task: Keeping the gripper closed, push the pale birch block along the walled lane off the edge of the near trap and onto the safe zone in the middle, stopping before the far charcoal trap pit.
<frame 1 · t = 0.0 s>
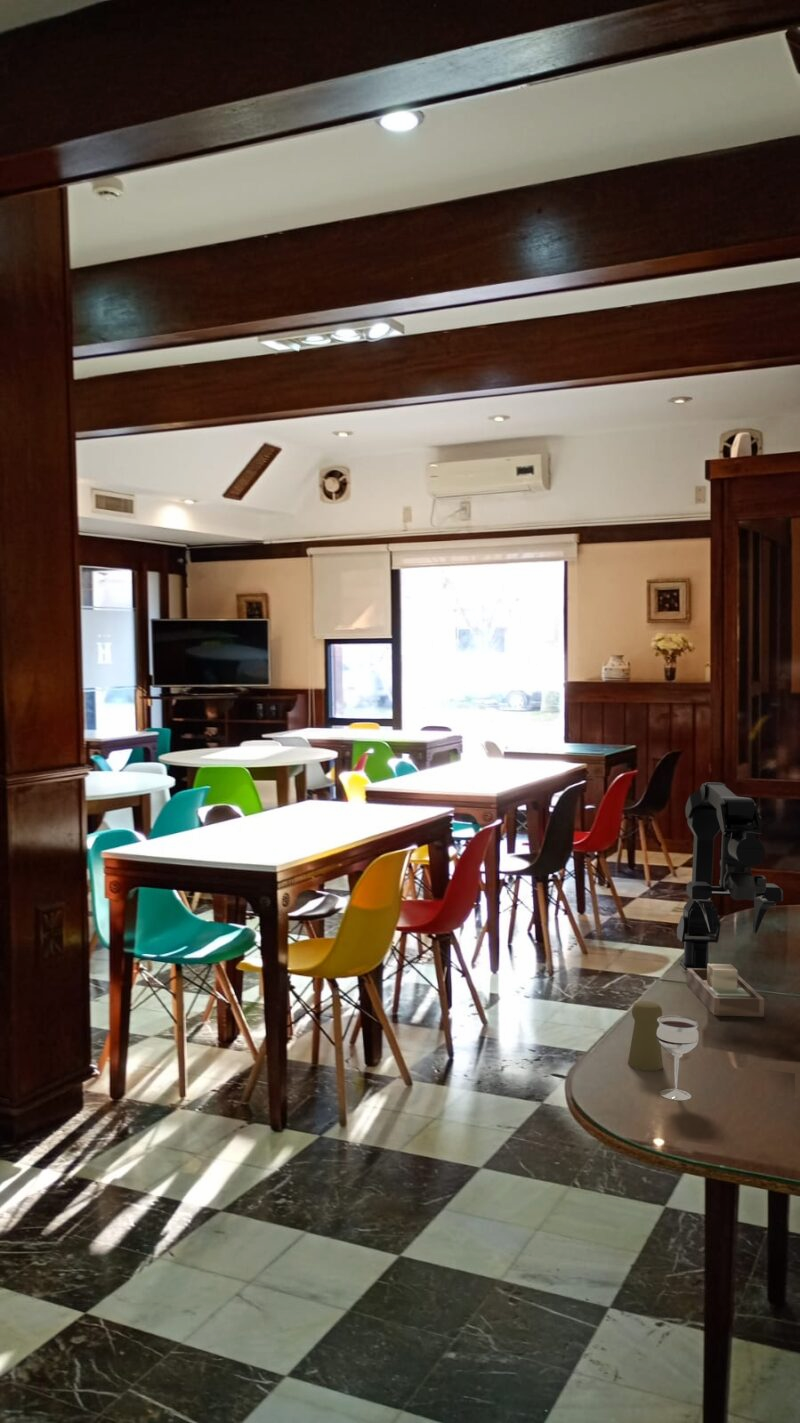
hand: (732, 932, 241), 15 cm above the table, fingers open, 9 cm apart
wineglass: (675, 1095, 188), on the table
block: (721, 985, 245), point 2 cm above the table, touching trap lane
cork: (645, 1065, 202), on the table
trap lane: (723, 999, 244), on the table
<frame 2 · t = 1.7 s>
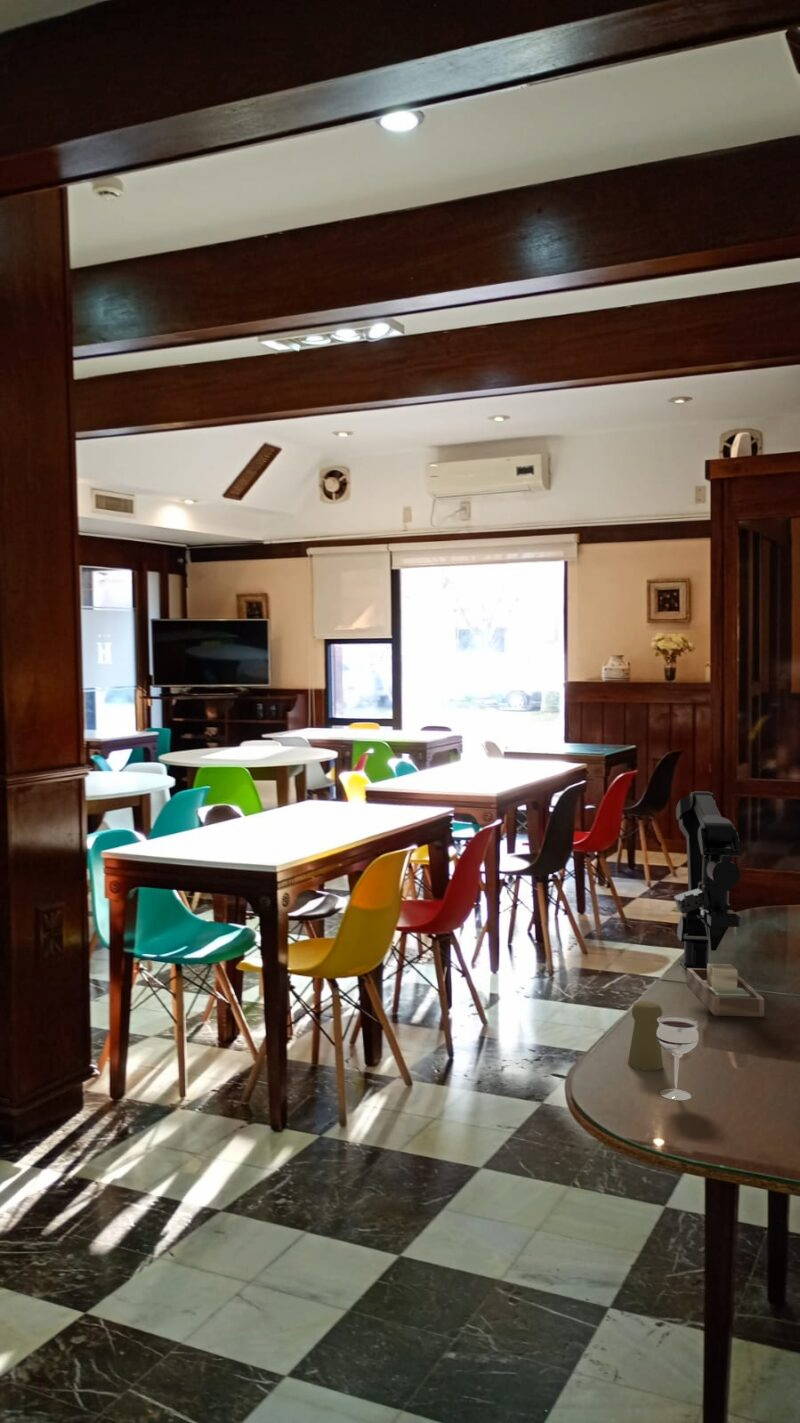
hand: (713, 950, 252), 8 cm above the table, fingers closed
nothing on the table moved.
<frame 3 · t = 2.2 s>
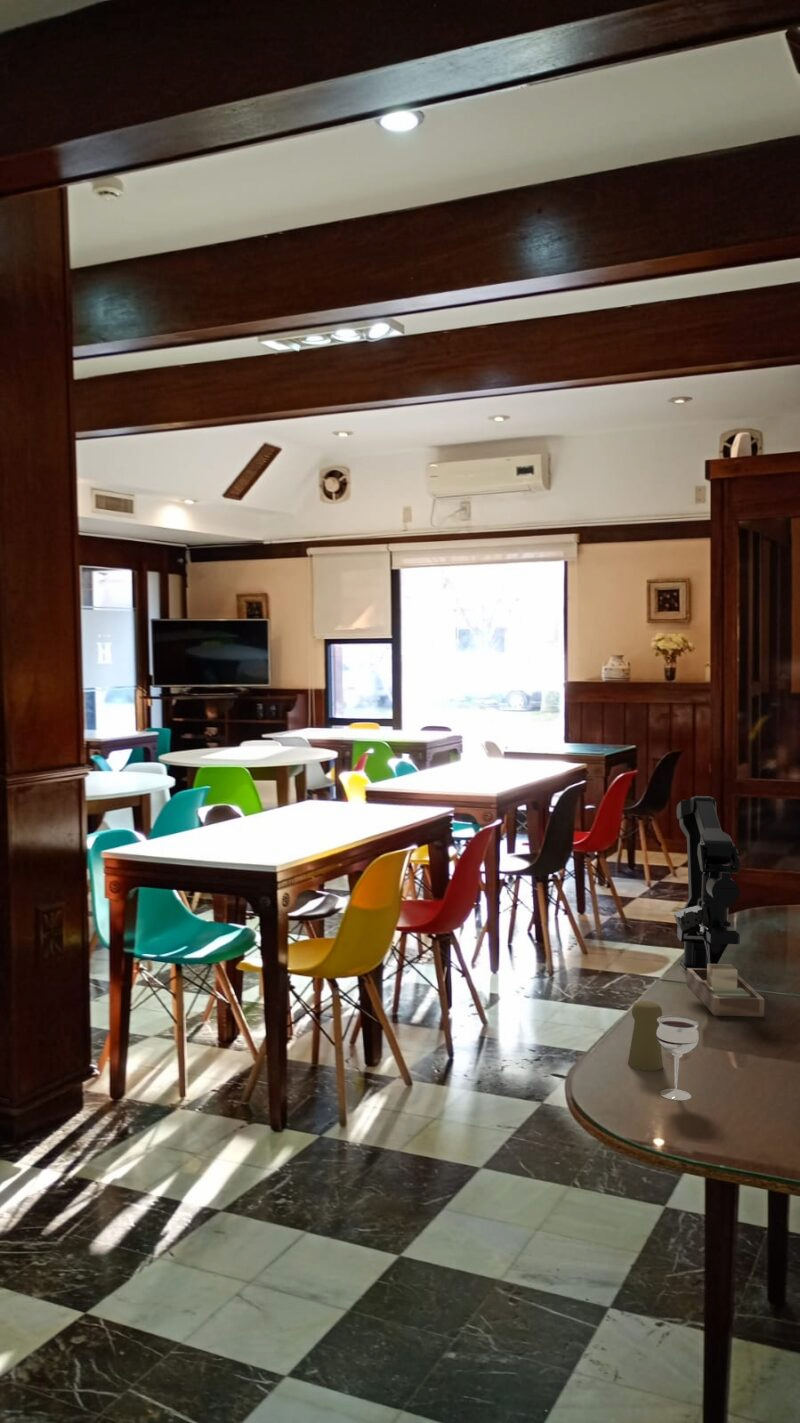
hand: (712, 967, 252), 5 cm above the table, fingers closed
nothing on the table moved.
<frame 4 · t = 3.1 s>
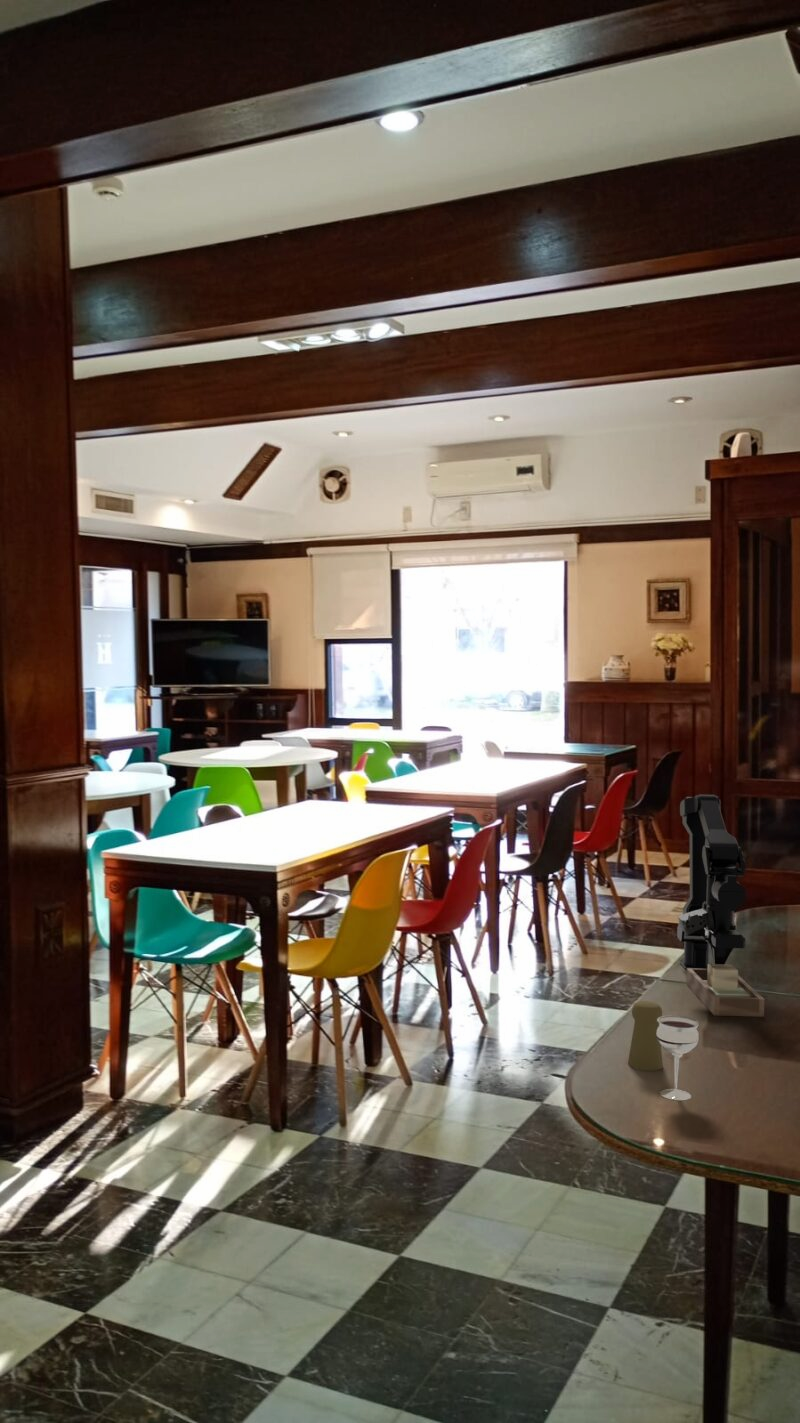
hand: (717, 971, 248), 5 cm above the table, fingers closed
block: (722, 986, 245), point 3 cm above the table, touching gripper
everything else where it was.
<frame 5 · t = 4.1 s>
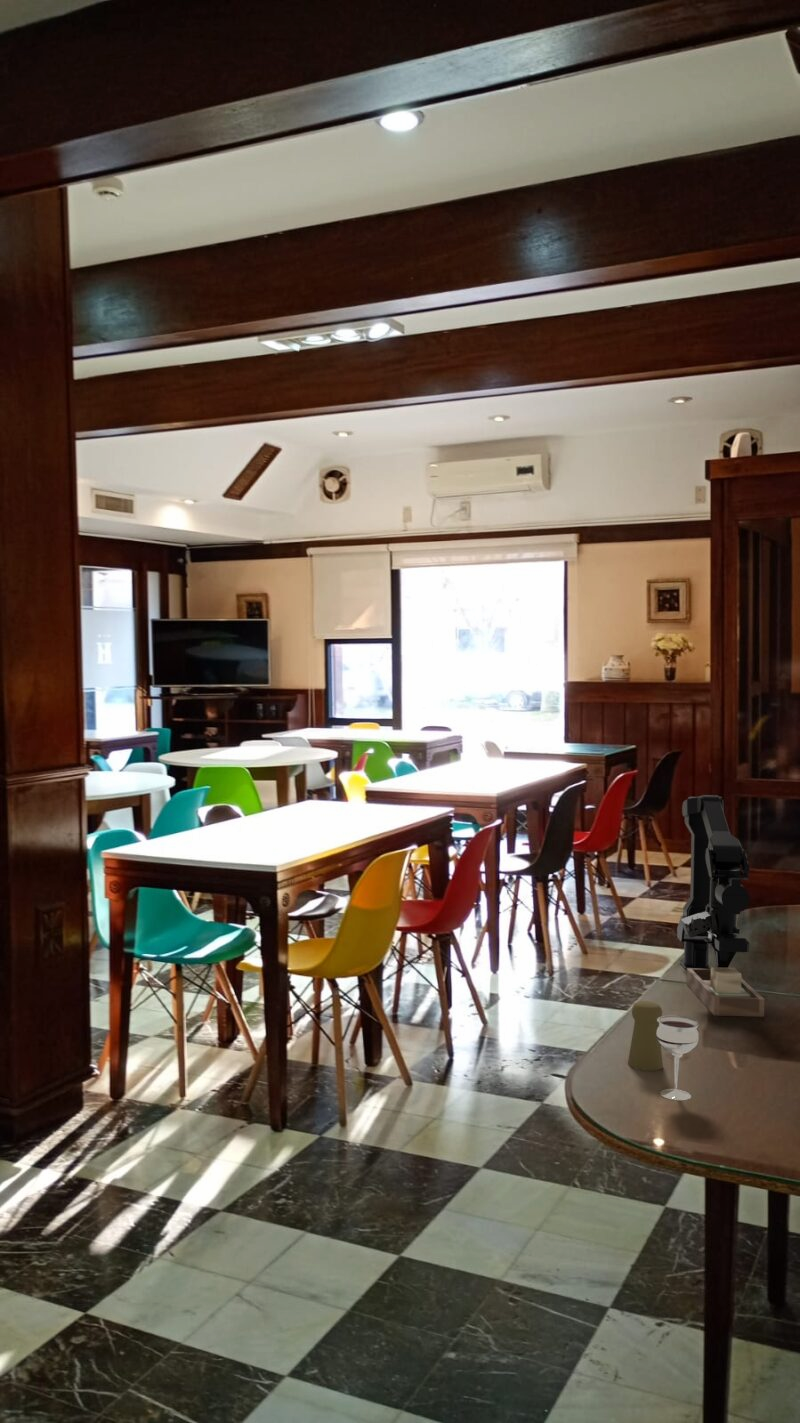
hand: (720, 974, 246), 5 cm above the table, fingers closed
block: (725, 989, 242), point 2 cm above the table, touching gripper, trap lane
everything else where it was.
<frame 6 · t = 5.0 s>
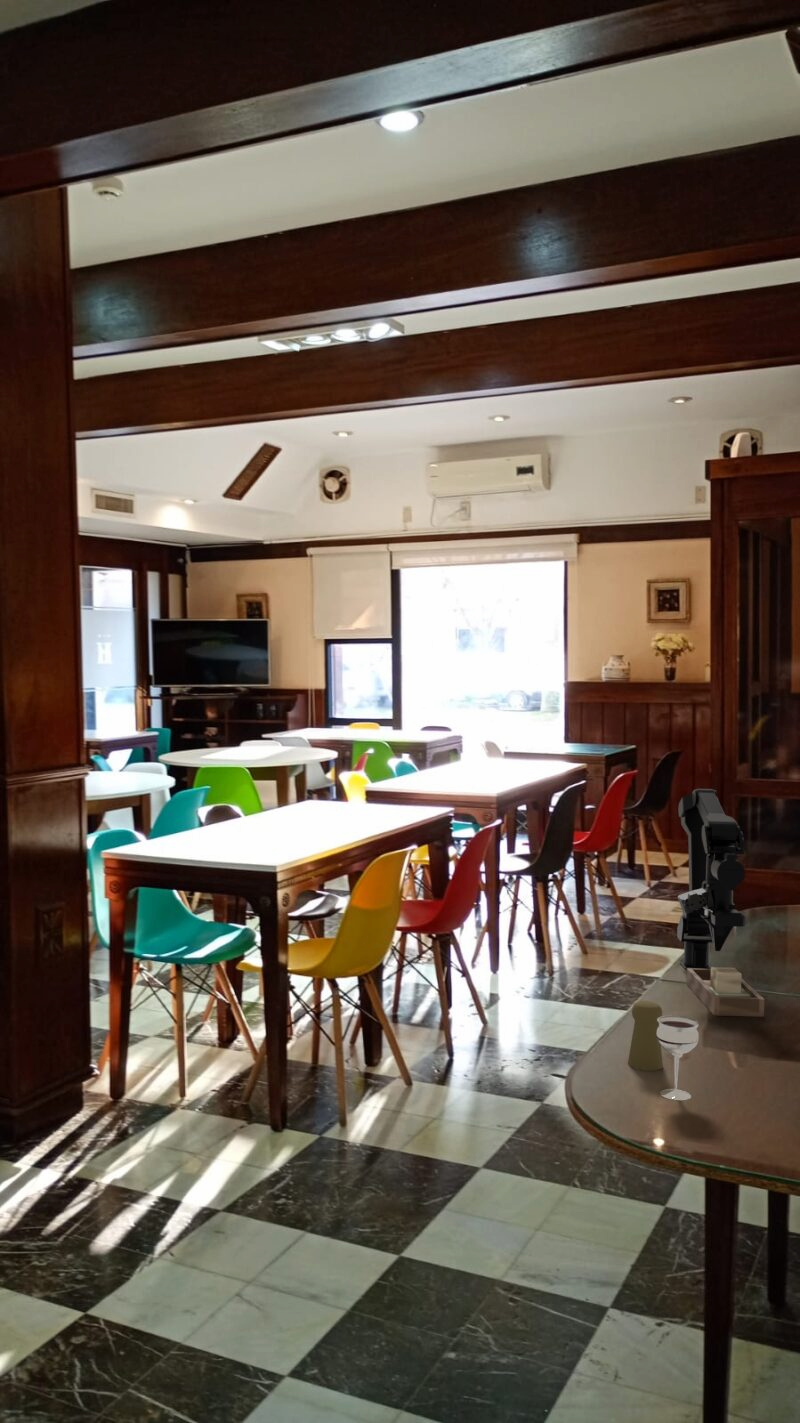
hand: (717, 950, 249), 9 cm above the table, fingers closed
block: (725, 989, 242), point 2 cm above the table, touching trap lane
everything else where it was.
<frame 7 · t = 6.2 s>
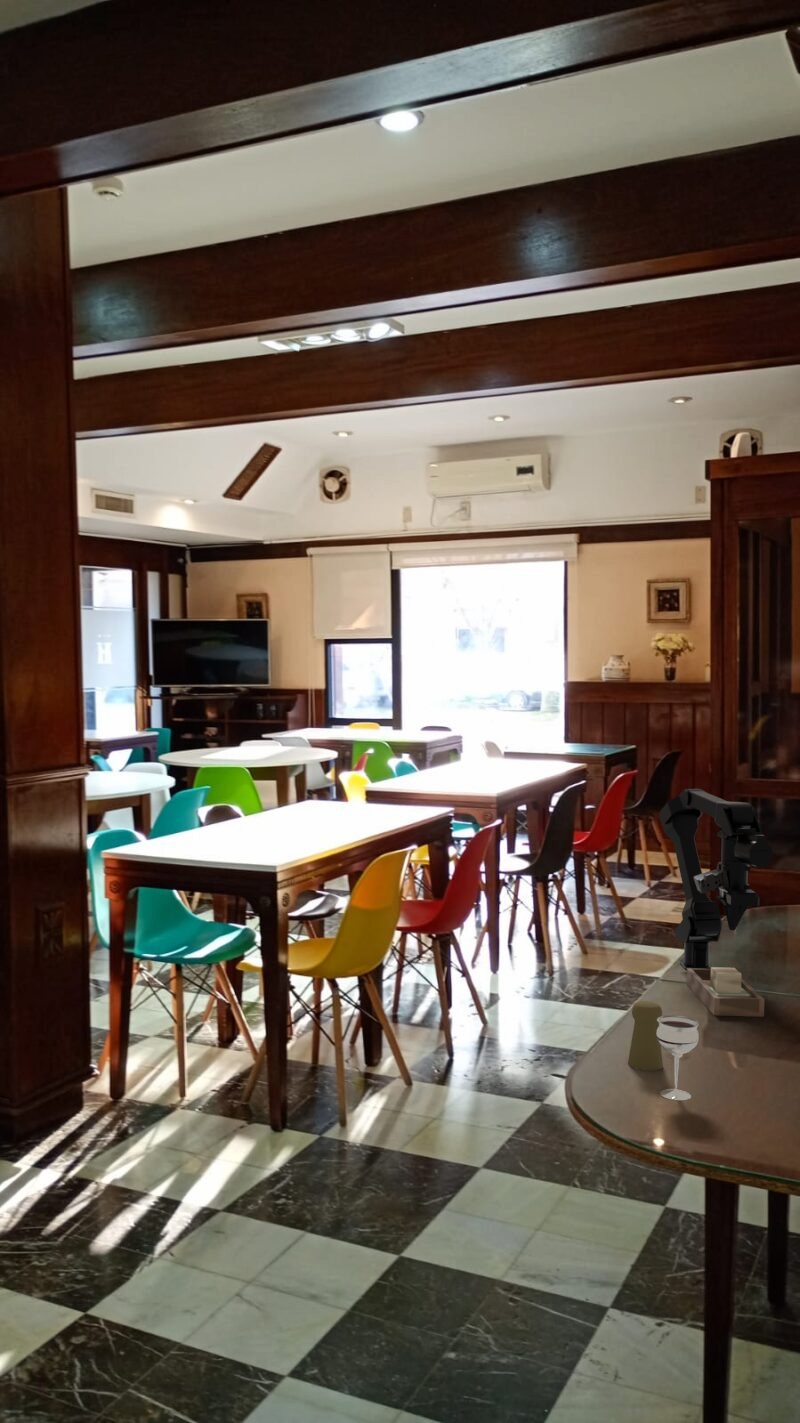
hand: (732, 929, 256), 12 cm above the table, fingers closed
nothing on the table moved.
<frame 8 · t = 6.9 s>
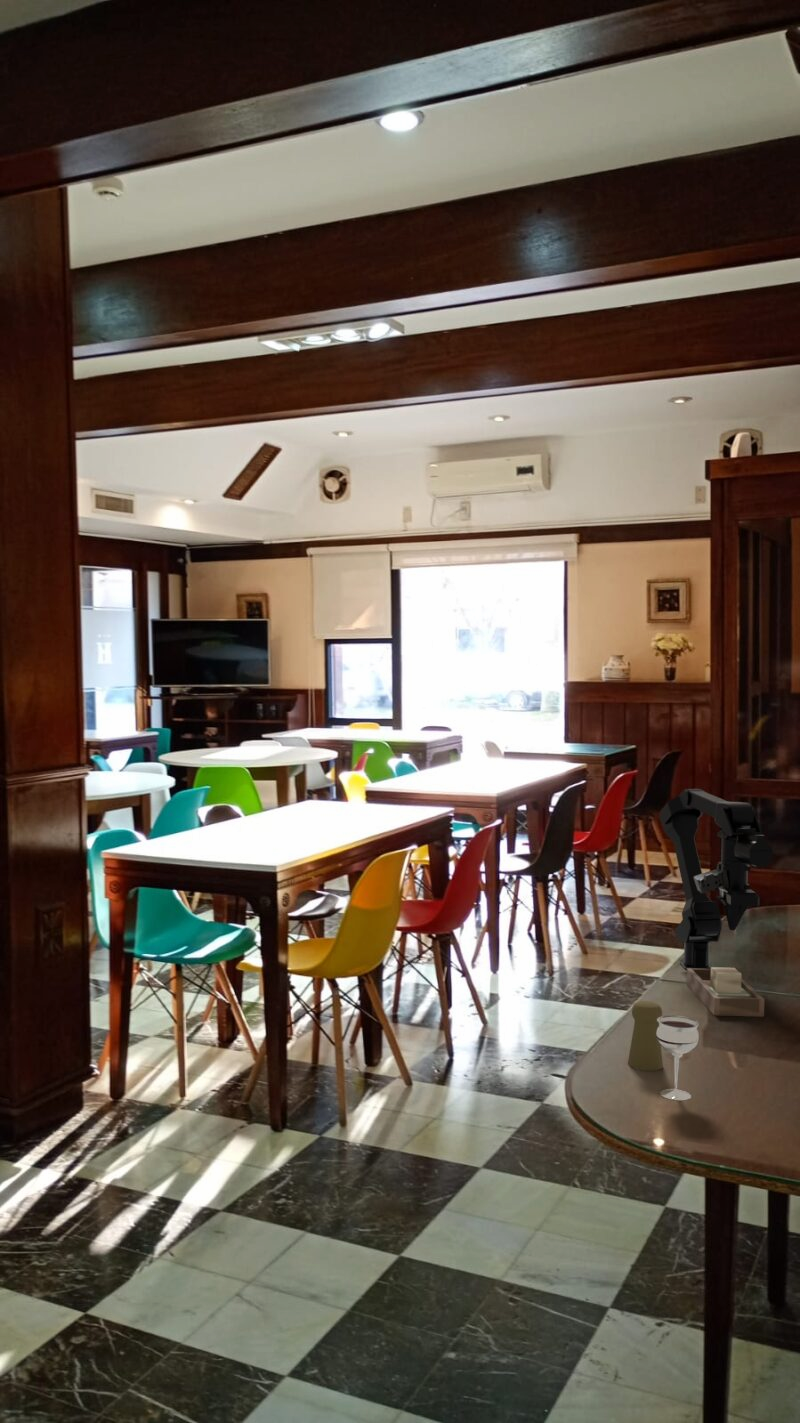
hand: (732, 929, 256), 12 cm above the table, fingers closed
nothing on the table moved.
at the end: block 1.1 cm from the target spot, point 2.5 cm above the table; block tilted 0° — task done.
